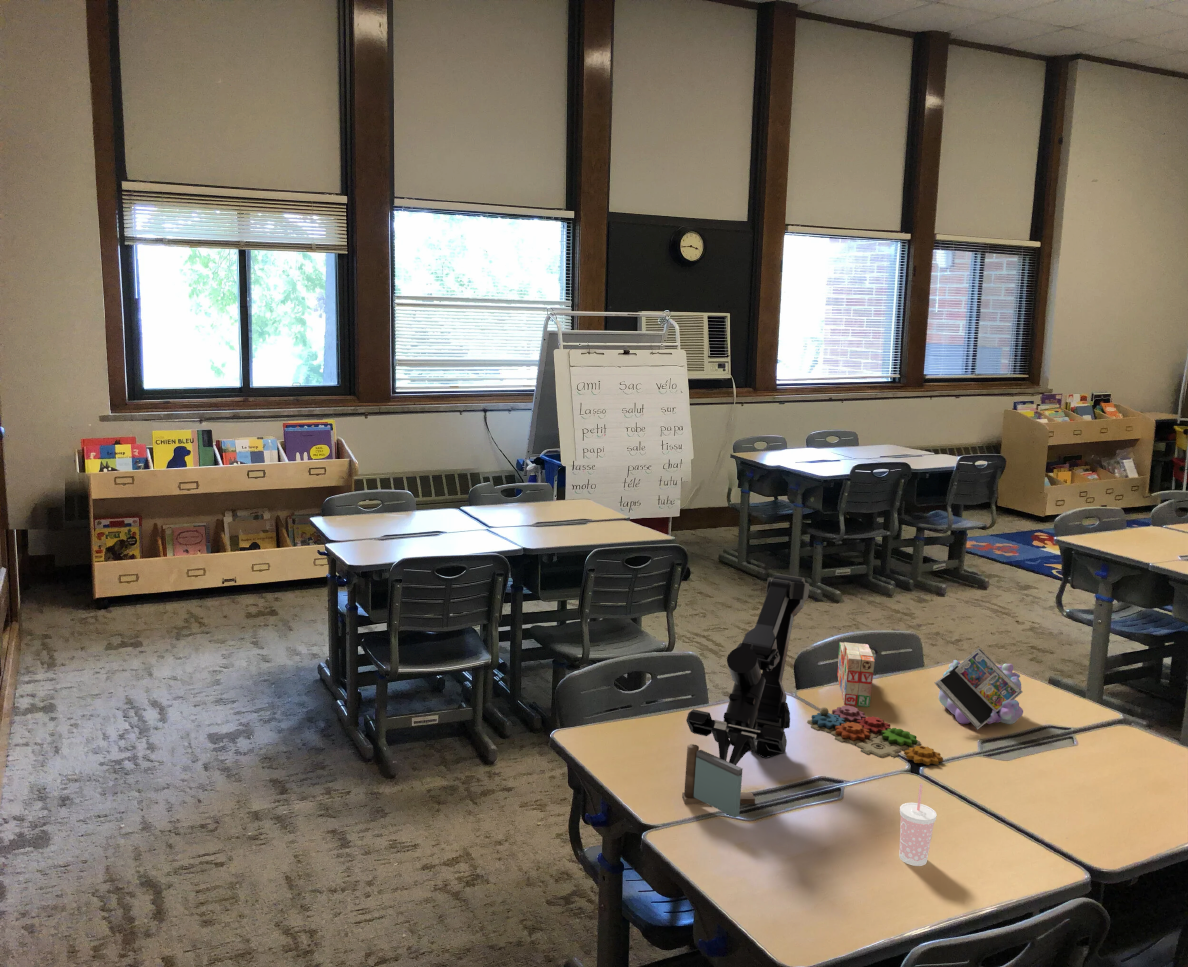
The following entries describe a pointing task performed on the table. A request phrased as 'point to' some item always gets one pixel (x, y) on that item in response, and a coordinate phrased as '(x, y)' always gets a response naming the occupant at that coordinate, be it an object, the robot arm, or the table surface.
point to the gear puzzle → (872, 735)
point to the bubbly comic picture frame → (980, 691)
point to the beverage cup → (916, 831)
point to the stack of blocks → (855, 673)
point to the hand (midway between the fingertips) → (724, 772)
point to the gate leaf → (718, 783)
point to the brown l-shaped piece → (690, 780)
